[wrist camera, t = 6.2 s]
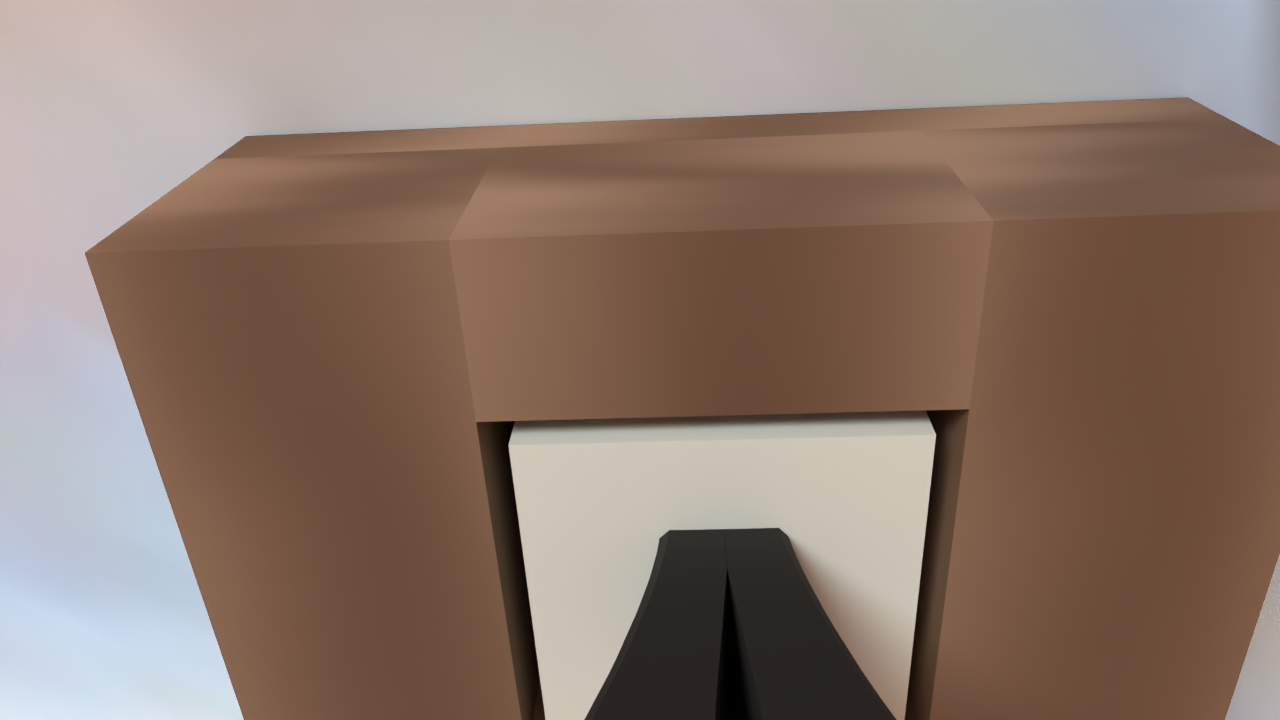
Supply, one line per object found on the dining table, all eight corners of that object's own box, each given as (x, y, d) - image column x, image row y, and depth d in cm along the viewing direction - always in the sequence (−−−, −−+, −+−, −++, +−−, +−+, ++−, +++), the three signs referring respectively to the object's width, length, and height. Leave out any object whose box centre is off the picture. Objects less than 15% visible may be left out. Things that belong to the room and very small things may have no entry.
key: (570, 577, 15) (547, 738, 12) (542, 318, 13) (508, 445, 10) (862, 573, 15) (902, 735, 12) (882, 308, 13) (935, 435, 10)
